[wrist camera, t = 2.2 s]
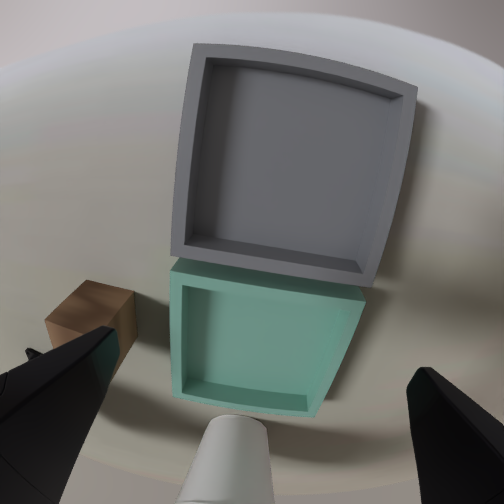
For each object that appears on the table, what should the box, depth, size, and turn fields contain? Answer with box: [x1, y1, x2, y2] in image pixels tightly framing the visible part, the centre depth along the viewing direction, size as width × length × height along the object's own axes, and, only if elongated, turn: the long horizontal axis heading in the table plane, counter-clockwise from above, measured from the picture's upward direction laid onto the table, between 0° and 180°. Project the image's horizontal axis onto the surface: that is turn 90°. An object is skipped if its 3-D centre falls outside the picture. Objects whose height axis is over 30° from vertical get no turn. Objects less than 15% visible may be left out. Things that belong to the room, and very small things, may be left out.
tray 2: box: [170, 257, 366, 417], centre depth 20 cm, size 12×12×2 cm
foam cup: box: [174, 414, 275, 504], centre depth 21 cm, size 10×9×13 cm
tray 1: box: [170, 43, 418, 288], centre depth 15 cm, size 12×12×2 cm
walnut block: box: [45, 280, 138, 382], centre depth 19 cm, size 4×4×6 cm
